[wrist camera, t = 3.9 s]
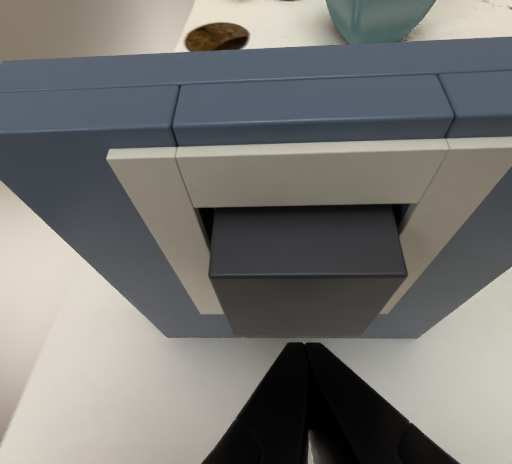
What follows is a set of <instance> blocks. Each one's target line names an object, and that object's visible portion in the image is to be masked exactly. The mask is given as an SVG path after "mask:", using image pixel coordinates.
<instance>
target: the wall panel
mask: <svg viewBox="0 0 512 464" xmlns="http://www.w3.org/2000/svg"><path fill="white" fill-rule="evenodd" d="M0 180H1V181H2V182H3V183H4V184H5V185H6V186H7V187H8V188H9V189H11V190H12V191H13V192H14V193H15V194H16V195H17V196H18V197H19V198H20V199H21V200H22V201H23V202H24V203H25V204H26V205H27V206H28V207H30V208H31V209H32V210H33V211H34V212H35V213H36V214H37V215H38V216H39V217H40V218H42V220H43V221H45V223H46V224H48V225H49V226H50V227H51V228H52V229H53V230H54V231H55V232H56V233H57V234H58V235H59V236H60V237H61V238H62V239H63V240H64V241H66V242H67V243H68V244H69V245H70V246H71V247H72V248H73V249H74V250H75V251H76V252H77V253H78V254H79V255H80V256H81V257H83V258H84V259H85V260H86V261H87V262H88V263H89V264H90V265H91V266H92V267H93V268H94V269H95V270H96V271H97V272H98V273H99V274H101V275H102V276H103V277H104V278H105V279H106V280H107V281H108V282H109V283H110V284H111V285H112V286H113V287H114V288H115V289H116V290H118V291H119V292H120V293H121V294H122V295H123V296H124V297H125V298H126V299H127V300H128V301H129V302H130V303H131V304H132V305H133V306H134V307H136V308H137V309H138V310H139V311H140V312H141V313H142V314H143V315H144V316H145V317H146V318H147V319H148V320H149V321H150V322H151V323H153V324H154V325H155V326H156V327H157V328H158V329H159V330H160V331H161V332H162V333H163V334H164V335H165V336H166V337H245V338H336V337H337V338H418V337H420V336H421V335H422V334H424V333H425V332H426V331H428V330H429V329H430V328H431V327H433V326H434V325H435V324H437V323H438V322H439V321H441V320H442V319H443V318H445V317H446V316H447V315H449V314H450V313H451V312H453V311H454V310H455V309H456V308H458V307H459V306H460V305H462V304H463V303H464V302H466V301H467V300H468V299H470V298H471V297H472V296H474V295H475V294H476V293H477V292H479V291H480V290H481V289H483V288H484V287H485V286H487V285H488V284H489V283H491V282H492V281H493V280H495V279H496V278H497V277H499V276H500V275H501V274H502V273H504V272H505V271H506V270H508V269H509V268H510V267H512V37H494V38H473V39H452V40H431V41H411V42H390V43H369V44H348V45H327V46H306V47H285V48H264V49H243V50H222V51H202V52H181V53H160V54H141V55H140V54H139V55H119V56H97V57H77V58H56V59H36V60H35V59H34V60H15V61H14V60H13V61H3V62H2V63H1V64H0ZM353 204H391V206H392V210H393V214H394V218H395V222H396V226H397V230H398V235H399V239H400V243H401V247H402V251H403V255H404V259H405V264H406V268H407V272H408V277H407V278H406V280H405V281H404V282H403V284H402V285H401V286H400V287H399V289H398V290H397V291H396V293H395V294H394V295H393V296H392V298H391V299H390V300H389V302H388V303H387V304H386V306H385V307H384V308H383V309H382V311H381V312H380V313H379V315H378V316H377V317H376V319H375V320H374V321H373V322H372V324H371V325H370V326H369V328H368V329H367V330H366V332H365V333H364V334H363V335H362V336H267V335H233V334H232V331H231V329H230V327H229V324H228V322H227V320H226V317H225V315H224V313H223V310H222V308H221V305H220V303H219V301H218V298H217V296H216V294H215V291H214V289H213V287H212V284H211V282H210V280H209V277H208V271H209V261H210V251H211V242H212V232H213V222H214V212H215V209H216V207H252V206H303V205H353Z"/></svg>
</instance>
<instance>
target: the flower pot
mask: <svg viewBox="0 0 512 464" xmlns="http://www.w3.org/2000/svg"><path fill="white" fill-rule="evenodd" d="M435 1H436V0H326V3H327V7H328V10H329V13H330V15H331V18H332V21H333V23H334V26H335V27H336V29H337V30H338V31H339V32H340V34H341V35H342V36H343V37H344V39H345V40H346V41H347V43H348V44H369V43H390V42H398V41H400V40H401V39H402V38H403V37H405V36H406V35H407V34H408V33H409V32H410V31H411V30H412V29H413V28H414V27H415V26H416V25H417V24H418V23H419V22H420V21H421V20H422V19H423V18H424V16H425V15H426V14H427V13H428V11H429V10H430V9H431V7H432V6H433V4H434V3H435Z"/></svg>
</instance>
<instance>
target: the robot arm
mask: <svg viewBox="0 0 512 464" xmlns="http://www.w3.org/2000/svg"><path fill="white" fill-rule="evenodd" d="M309 439H310V444H311V450H312V455H313V460H314V464H460V463H459V462H458V461H456V460H455V459H454V458H452V457H451V456H450V455H449V454H447V453H446V452H445V451H444V450H443V449H441V448H440V447H439V446H438V445H437V444H435V443H434V442H433V441H432V440H431V439H430V438H428V437H427V436H426V435H425V434H424V433H423V432H421V431H420V430H419V429H418V428H417V427H416V426H415V425H414V424H412V423H409V420H408V419H407V418H405V417H404V416H403V415H402V414H401V413H400V412H399V411H397V410H396V409H395V408H394V407H393V406H392V405H391V404H390V403H388V402H387V401H386V400H385V399H384V398H383V397H382V396H380V395H379V394H378V393H377V392H376V391H375V390H374V389H373V388H371V387H370V386H369V385H368V384H367V383H366V382H365V381H363V380H362V379H361V378H360V377H359V376H358V375H357V374H356V373H354V372H353V371H352V370H351V369H350V368H349V367H348V366H346V365H345V364H344V363H343V362H342V361H341V360H340V359H339V358H337V357H336V356H335V355H334V354H333V353H332V352H331V351H329V350H328V349H327V348H326V347H325V346H324V345H323V344H321V343H319V342H307V343H305V344H303V343H301V342H289V343H287V344H286V346H285V347H284V349H283V350H282V352H281V353H280V355H279V356H278V357H277V359H276V360H275V362H274V363H273V365H272V366H271V368H270V369H269V371H268V372H267V373H266V375H265V376H264V378H263V379H262V381H261V382H260V384H259V385H258V387H257V388H256V389H255V391H254V392H253V394H252V395H251V397H250V398H249V400H248V401H247V403H246V404H245V406H244V407H243V408H242V410H241V411H240V413H239V414H238V416H237V417H236V420H234V421H233V423H232V424H231V426H230V427H229V429H228V430H227V432H226V433H225V434H224V436H223V437H222V438H221V440H220V441H219V442H218V444H217V445H216V446H215V448H214V449H213V450H212V451H211V453H210V454H209V455H208V456H207V457H206V458H205V460H204V461H203V462H202V463H201V464H308V452H309Z"/></svg>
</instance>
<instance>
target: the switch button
mask: <svg viewBox="0 0 512 464" xmlns="http://www.w3.org/2000/svg"><path fill="white" fill-rule="evenodd" d="M208 277H209V280H210V282H211V284H212V287H213V289H214V291H215V294H216V296H217V298H218V301H219V303H220V305H221V308H222V310H223V313H224V315H225V317H226V320H227V322H228V324H229V327H230V329H231V331H232V334H233V335H267V336H362V335H363V334H364V333H365V332H366V330H367V329H368V328H369V326H370V325H371V324H372V322H373V321H374V320H375V319H376V317H377V316H378V315H379V313H380V312H381V311H382V309H383V308H384V307H385V306H386V304H387V303H388V302H389V300H390V299H391V298H392V296H393V295H394V294H395V293H396V291H397V290H398V289H399V287H400V286H401V285H402V284H403V282H404V281H405V280H406V278H407V277H408V272H407V268H406V264H405V259H404V255H403V251H402V247H401V243H400V239H399V235H398V230H397V226H396V222H395V218H394V214H393V210H392V206H391V204H353V205H303V206H252V207H216V209H215V212H214V222H213V232H212V242H211V251H210V261H209V271H208Z"/></svg>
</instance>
